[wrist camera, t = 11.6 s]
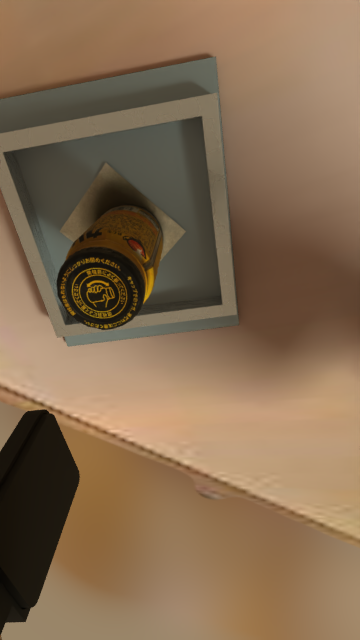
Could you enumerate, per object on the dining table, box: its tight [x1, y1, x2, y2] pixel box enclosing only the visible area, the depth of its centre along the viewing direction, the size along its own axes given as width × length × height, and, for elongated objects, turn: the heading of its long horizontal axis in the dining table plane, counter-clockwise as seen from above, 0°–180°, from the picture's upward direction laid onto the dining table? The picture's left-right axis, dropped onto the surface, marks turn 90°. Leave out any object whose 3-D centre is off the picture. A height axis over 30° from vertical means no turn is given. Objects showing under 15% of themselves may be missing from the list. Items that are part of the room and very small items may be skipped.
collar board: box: [0, 57, 239, 346], centre depth 30 cm, size 22×18×3 cm
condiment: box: [56, 163, 186, 330], centre depth 25 cm, size 7×8×12 cm
